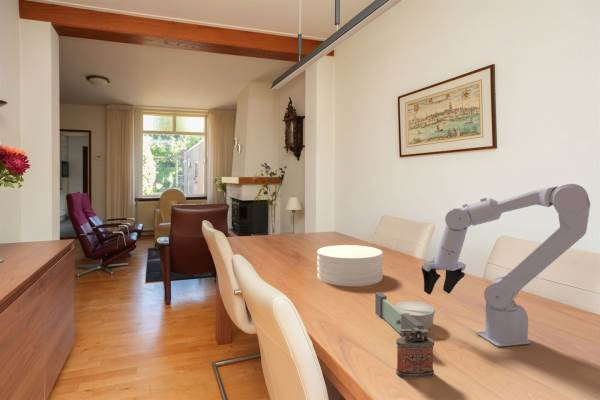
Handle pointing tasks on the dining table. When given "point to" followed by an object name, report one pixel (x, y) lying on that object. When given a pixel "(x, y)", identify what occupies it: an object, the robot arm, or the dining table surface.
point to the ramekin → (418, 312)
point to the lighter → (414, 354)
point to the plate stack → (349, 265)
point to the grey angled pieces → (406, 318)
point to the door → (391, 314)
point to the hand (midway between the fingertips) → (436, 292)
